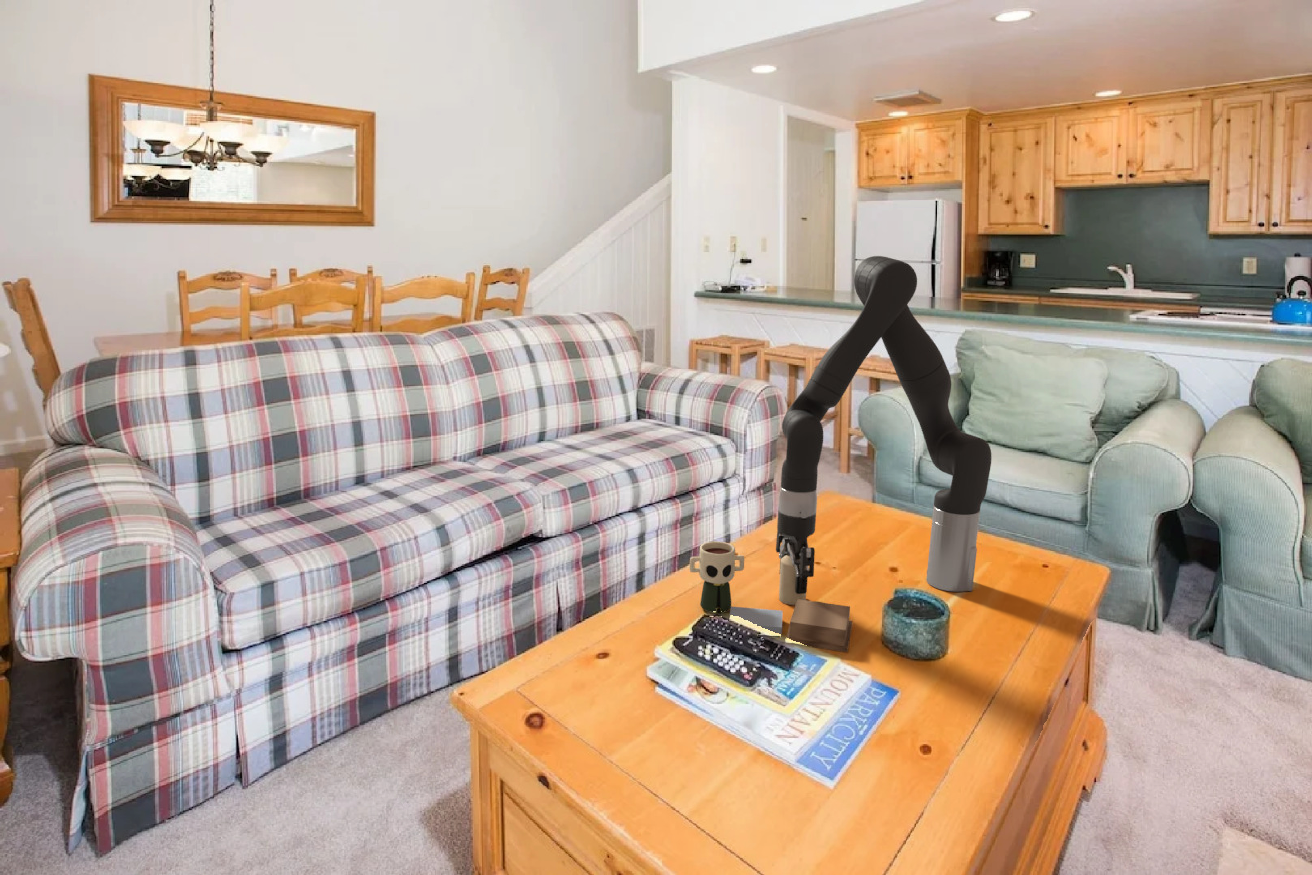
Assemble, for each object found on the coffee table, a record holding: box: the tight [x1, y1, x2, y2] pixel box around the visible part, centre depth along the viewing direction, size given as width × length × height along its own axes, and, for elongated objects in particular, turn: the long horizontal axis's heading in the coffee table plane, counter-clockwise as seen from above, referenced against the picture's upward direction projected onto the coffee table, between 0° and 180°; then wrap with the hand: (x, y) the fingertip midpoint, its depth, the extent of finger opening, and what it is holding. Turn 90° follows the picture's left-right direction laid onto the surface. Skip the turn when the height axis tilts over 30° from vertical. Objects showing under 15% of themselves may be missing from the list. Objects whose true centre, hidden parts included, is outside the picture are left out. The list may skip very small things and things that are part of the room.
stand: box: [785, 599, 853, 653], centre depth 151 cm, size 11×11×4 cm
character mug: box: [689, 541, 745, 613], centre depth 160 cm, size 11×7×13 cm, turn 96°
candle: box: [778, 555, 807, 606], centre depth 164 cm, size 6×6×10 cm
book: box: [729, 605, 784, 634], centre depth 154 cm, size 10×7×2 cm
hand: (792, 584), depth 165 cm, fingers open, 8 cm apart
